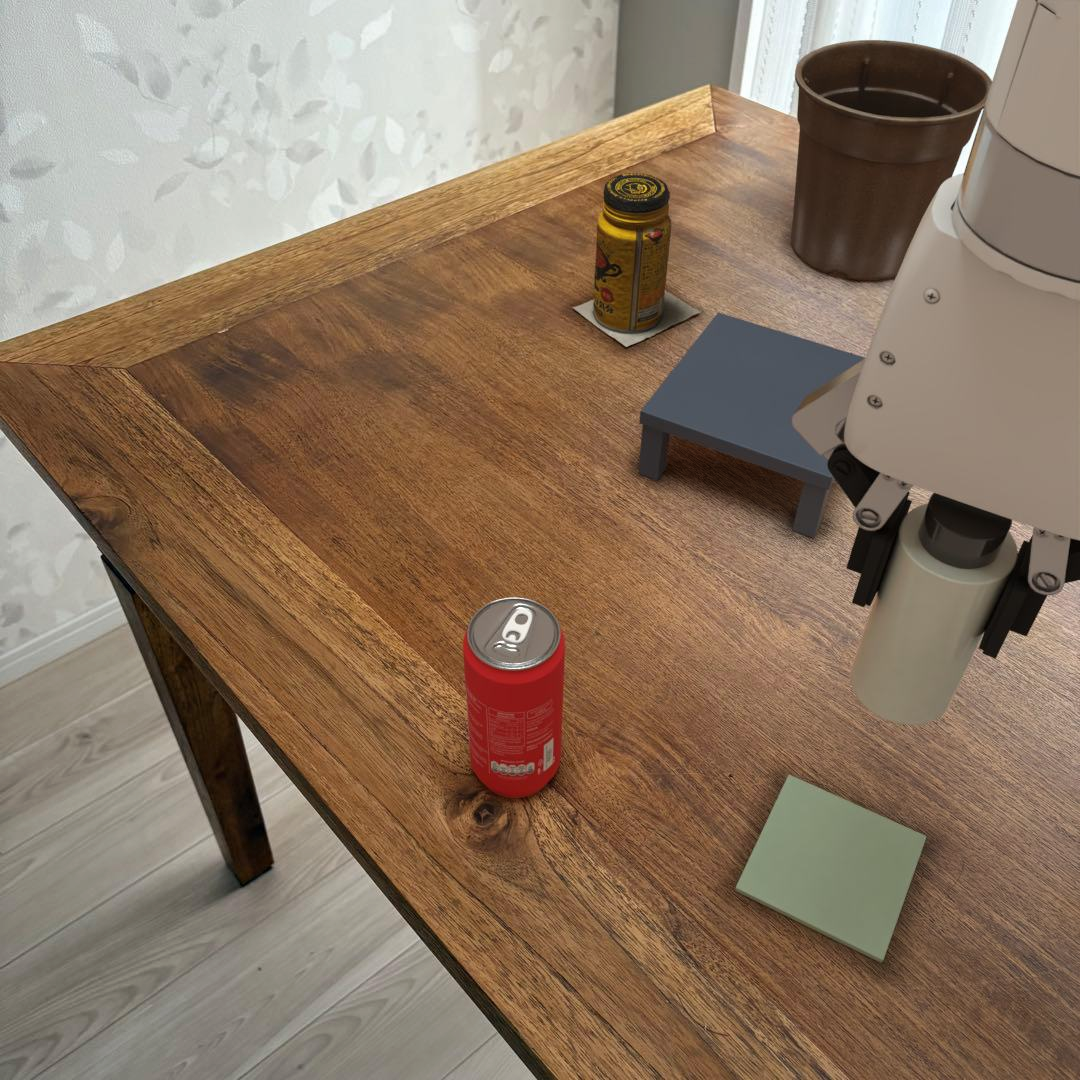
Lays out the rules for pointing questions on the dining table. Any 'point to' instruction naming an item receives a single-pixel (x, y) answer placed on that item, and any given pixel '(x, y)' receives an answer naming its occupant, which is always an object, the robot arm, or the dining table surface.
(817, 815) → the coaster
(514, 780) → the beverage can
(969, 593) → the spice bottle
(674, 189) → the dining table surface
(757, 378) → the grey miniature table
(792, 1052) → the dining table surface
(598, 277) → the condiment
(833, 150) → the plant pot
